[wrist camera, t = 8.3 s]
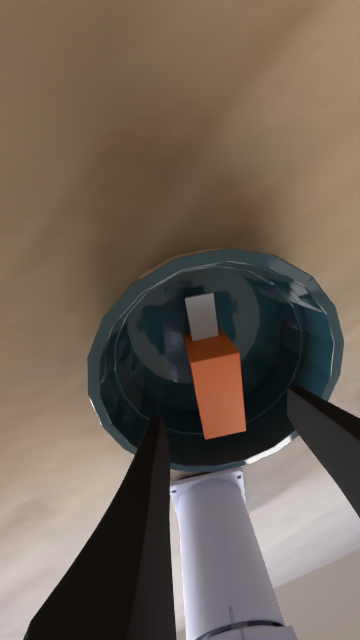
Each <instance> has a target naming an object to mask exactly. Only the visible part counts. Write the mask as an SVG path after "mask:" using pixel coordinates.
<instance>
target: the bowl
mask: <svg viewBox="0 0 360 640" xmlns="http://www.w3.org/2000/svg"><path fill="white" fill-rule="evenodd" d="M209 292H213V295H214V303H215V311H216V319H217V327H220V328H221V329H222V331H223V332H224V333H225V335H226V336H227V337H228V338H229V340H230V341H231V342H232V344H233V345H234V346H235V347H236V349H237V350H238V351H239V353H240V364H241V375H242V387H243V398H244V410H245V421H246V431H243V432H238V433H234V434H229V435H224V436H220V437H215V438H211V439H205V437H204V433H203V429H202V424H201V420H200V416H199V411H198V407H197V402H196V398H195V393H194V388H193V383H192V378H191V373H190V368H189V362H188V357H187V352H186V347H185V342H184V337H183V334H186V333H191V332H190V326H189V320H188V315H187V309H186V304H185V297H189V296H194V295H199V294H204V293H209ZM343 348H344V339H343V335H342V331H341V327H340V323H339V319H338V315H337V310H336V308H335V306H334V304H333V303H332V302H331V300H330V299H329V298H328V296H327V295H326V294H325V292H324V291H323V290H322V288H321V287H320V286H319V284H318V283H317V282H316V280H315V279H314V278H313V277H312V276H311V275H309V274H308V273H306V272H304V271H302V270H301V269H299V268H297V267H295V266H294V265H292V264H290V263H288V262H287V261H285V260H283V259H282V258H280V257H278V256H276V255H273V254H267V253H260V252H253V251H247V250H240V249H233V248H219V249H206V250H201V251H195V252H190V253H185V254H180V255H175V256H172V257H170V258H168V259H166V260H165V261H163V262H161V263H159V264H158V265H156V266H154V267H152V268H151V269H149V270H147V271H145V272H144V273H143V274H141V275H140V276H139V277H138V278H137V279H136V281H135V282H134V283H133V284H132V285H131V286H130V287H129V288H128V289H127V291H126V292H125V293H124V294H123V295H122V296H121V297H120V299H119V300H118V301H117V302H116V303H115V304H114V305H113V307H112V308H111V309H110V310H109V311H108V312H107V314H106V315H105V316H104V317H103V319H102V320H101V323H100V326H99V328H98V331H97V334H96V336H95V339H94V342H93V344H92V347H91V350H90V352H89V355H88V359H87V361H88V395H89V398H90V400H91V402H92V405H93V407H94V409H95V412H96V414H97V416H98V419H99V421H100V423H101V425H102V427H103V428H104V429H105V430H106V431H107V432H108V433H109V434H110V435H111V436H112V437H113V438H114V439H115V440H116V441H117V442H118V443H119V444H120V445H121V447H122V448H123V449H125V450H126V451H128V452H130V453H132V454H134V455H135V454H136V452H137V449H138V447H139V444H140V442H141V439H142V437H143V434H144V431H145V429H146V426H147V423H148V420H149V418H150V416H155V415H160V414H161V415H162V419H163V423H164V426H165V430H166V433H167V437H168V440H169V452H170V469H173V470H177V471H181V472H183V471H184V472H215V471H216V472H217V471H221V470H226V469H231V468H235V467H240V466H244V465H247V464H250V463H253V462H255V461H257V460H259V459H262V458H264V457H266V456H268V455H270V454H273V453H275V452H277V451H279V450H280V449H281V448H283V447H284V446H285V445H287V444H288V443H289V442H291V441H292V440H293V439H295V438H296V437H297V436H299V434H298V432H297V431H296V429H295V428H294V426H293V424H292V423H291V421H290V419H289V418H288V416H287V387H290V386H295V385H299V386H301V387H302V388H304V389H306V390H308V391H310V392H312V393H313V394H315V395H317V396H319V397H320V398H322V399H324V400H326V401H328V400H329V398H330V396H331V393H332V391H333V389H334V387H335V385H336V383H337V381H338V378H339V376H340V372H341V364H342V356H343Z"/></svg>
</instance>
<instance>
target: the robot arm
mask: <svg viewBox="0 0 360 640" xmlns="http://www.w3.org/2000/svg"><path fill="white" fill-rule="evenodd" d="M287 416H288V418H289V419H290V421H291V423H292V424H293V426H294V428H295V429H296V431H297V432H298V434H299V435H300V437H301V438H302V439H303V441H304V442H305V443H306V444H307V446H308V447H309V448H310V450H311V451H312V452H313V454H314V455H315V456H316V457H317V459H318V460H319V461H320V463H321V464H322V465H323V466H324V468H325V469H326V470H327V472H328V473H329V474H330V475H331V477H332V478H333V479H334V481H335V482H336V483H337V485H338V486H339V488H340V489H341V490H342V492H343V493H344V495H345V496H346V498H347V499H348V501H349V502H350V504H351V505H352V507H353V508H354V510H355V511H356V513H357V514H358V516H359V518H360V418H358V417H356V416H354V415H352V414H350V413H348V412H346V411H344V410H342V409H340V408H339V407H337V406H335V405H333V404H331V403H329V402H328V401H326V400H324V399H322V398H320V397H319V396H317V395H315V394H313V393H312V392H310V391H308V390H306V389H304V388H302V387H301V386H299V385H295V386H290V387H287ZM170 496H171V499H172V502H173V505H174V508H175V511H176V514H177V517H178V520H179V532H180V548H181V564H182V580H183V596H184V612H185V628H186V640H297V637H296V634H295V631H294V628H293V626H289V627H286V626H285V623H284V620H283V617H282V614H281V611H280V608H279V606H278V602H277V599H276V596H275V593H274V590H273V587H272V584H271V581H270V578H269V575H268V572H267V569H266V566H265V563H264V560H263V557H262V554H261V551H260V548H259V545H258V542H257V539H256V536H255V533H254V530H253V527H252V524H251V521H250V517H249V514H248V511H247V507H246V497H245V488H244V478H243V471H242V469H241V468H240V467H236V468H231V469H227V470H222V471H218V472H213V473H209V474H204V475H200V476H195V477H191V478H186V479H182V480H177V481H172V482H170V452H169V440H168V437H167V433H166V430H165V426H164V423H163V419H162V415H161V414H160V415H155V416H150V418H149V420H148V423H147V426H146V429H145V431H144V434H143V437H142V439H141V442H140V444H139V447H138V449H137V452H136V454H135V456H134V459H133V461H132V463H131V465H130V467H129V469H128V471H127V474H126V476H125V478H124V480H123V482H122V484H121V486H120V488H119V489H118V491H117V493H116V495H115V497H114V499H113V500H112V502H111V504H110V506H109V507H108V509H107V511H106V512H105V514H104V516H103V517H102V519H101V521H100V523H99V524H98V526H97V527H96V529H95V531H94V532H93V534H92V535H91V537H90V538H89V540H88V541H87V543H86V544H85V546H84V547H83V549H82V550H81V552H80V553H79V555H78V556H77V558H76V559H75V561H74V562H73V564H72V565H71V567H70V568H69V570H68V571H67V572H66V574H65V575H64V577H63V578H62V579H61V581H60V582H59V583H58V585H57V586H56V587H55V589H54V590H53V592H52V593H51V594H50V596H49V597H48V598H47V600H46V601H45V602H44V604H43V605H42V607H41V608H40V609H39V611H38V612H37V613H36V615H35V616H34V617H33V619H32V620H31V622H30V624H29V627H28V629H27V632H26V634H25V636H24V639H23V640H176V626H175V611H174V597H173V581H172V564H171V546H170V523H169V509H170Z"/></svg>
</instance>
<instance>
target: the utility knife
mask: <svg viewBox="0 0 360 640" xmlns="http://www.w3.org/2000/svg"><path fill="white" fill-rule="evenodd" d="M185 304H186V309H187V315H188V320H189V326H190V332H191V333H186V334H183V337H184V342H185V347H186V352H187V357H188V362H189V368H190V373H191V378H192V383H193V388H194V393H195V398H196V402H197V407H198V411H199V416H200V420H201V424H202V429H203V433H204V437H205V439H211V438H215V437H220V436H224V435H229V434H234V433H238V432H243V431H246V421H245V410H244V398H243V387H242V375H241V364H240V353H239V351H238V350H237V349H236V347H235V346H234V345H233V344H232V342H231V341H230V340H229V338H228V337H227V336H226V335H225V333H224V332H223V331H222V329H221V328H220V327H217V319H216V311H215V303H214V295H213V292H209V293H204V294H199V295H194V296H189V297H185Z"/></svg>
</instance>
